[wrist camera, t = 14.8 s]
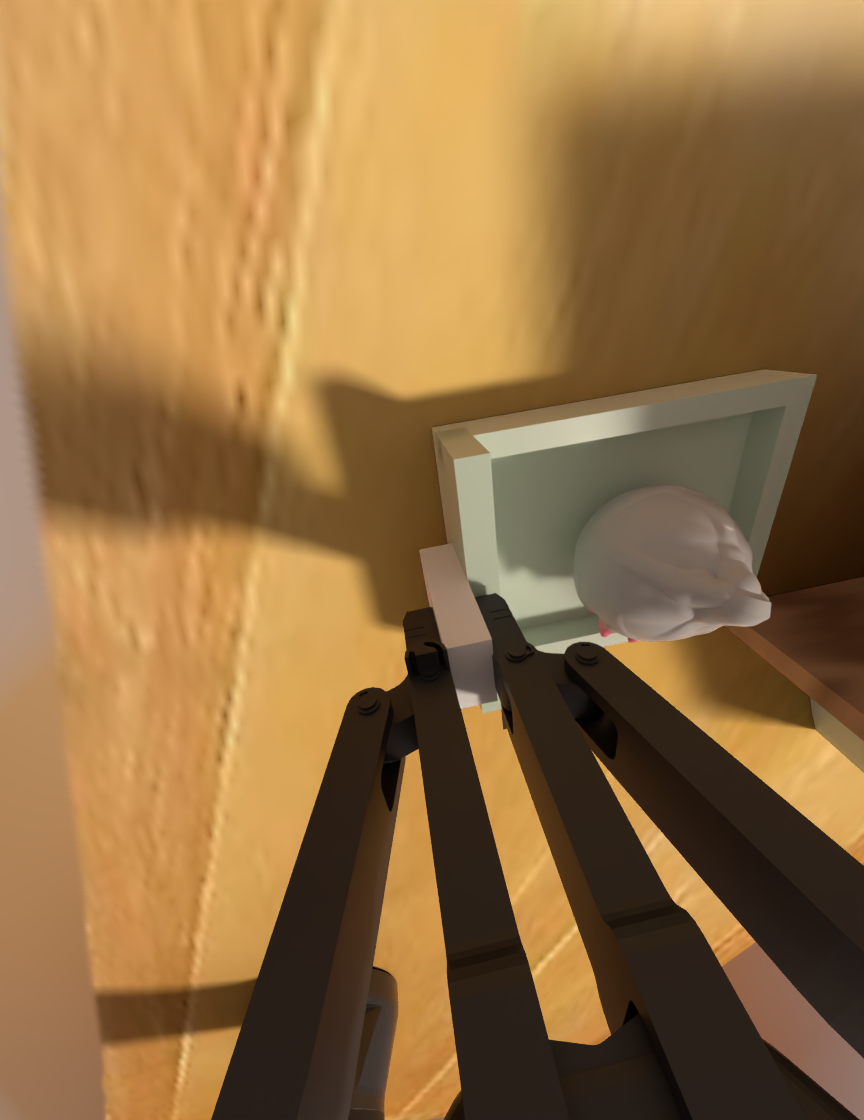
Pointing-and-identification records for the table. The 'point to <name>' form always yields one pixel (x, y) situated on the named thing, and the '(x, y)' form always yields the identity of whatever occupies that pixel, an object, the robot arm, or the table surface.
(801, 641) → the wooden open box
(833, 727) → the grey piece
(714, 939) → the table surface
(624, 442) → the tray
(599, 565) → the figurine
